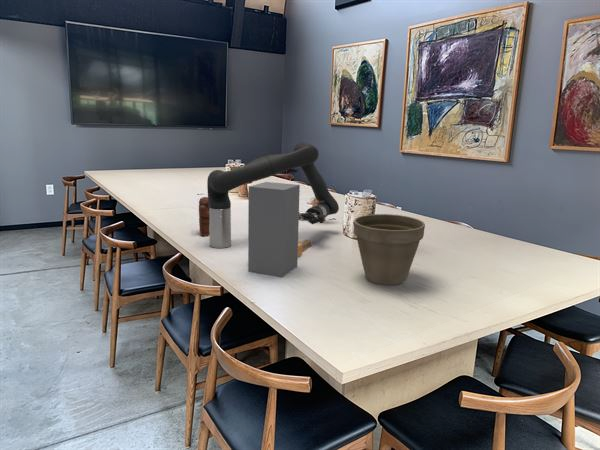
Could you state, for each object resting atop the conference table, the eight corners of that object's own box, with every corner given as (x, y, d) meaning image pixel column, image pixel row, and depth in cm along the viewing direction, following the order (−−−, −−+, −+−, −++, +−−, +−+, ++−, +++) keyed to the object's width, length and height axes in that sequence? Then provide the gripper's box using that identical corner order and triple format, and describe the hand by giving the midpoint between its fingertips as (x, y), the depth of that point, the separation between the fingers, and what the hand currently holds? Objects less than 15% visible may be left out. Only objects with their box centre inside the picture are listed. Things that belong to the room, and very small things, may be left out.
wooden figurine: (214, 236, 221) (213, 199, 217) (200, 237, 219) (199, 199, 215) (211, 230, 232) (211, 194, 228) (198, 231, 230) (197, 195, 226)
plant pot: (366, 293, 155) (370, 230, 150) (341, 269, 179) (343, 214, 174) (432, 288, 162) (439, 227, 157) (399, 266, 185) (404, 212, 180)
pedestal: (248, 271, 173) (248, 186, 166) (265, 261, 186) (266, 181, 179) (282, 277, 168) (284, 189, 161) (297, 266, 181) (299, 184, 174)
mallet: (282, 257, 192) (282, 245, 191) (302, 244, 212) (302, 234, 210) (295, 259, 190) (295, 247, 188) (314, 246, 209) (314, 235, 208)
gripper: (302, 204, 217) (288, 210, 202) (331, 207, 212) (318, 214, 197) (301, 220, 219) (287, 227, 204) (330, 223, 213) (318, 231, 199)
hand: (303, 220), depth 200 cm, fingers open, 8 cm apart
